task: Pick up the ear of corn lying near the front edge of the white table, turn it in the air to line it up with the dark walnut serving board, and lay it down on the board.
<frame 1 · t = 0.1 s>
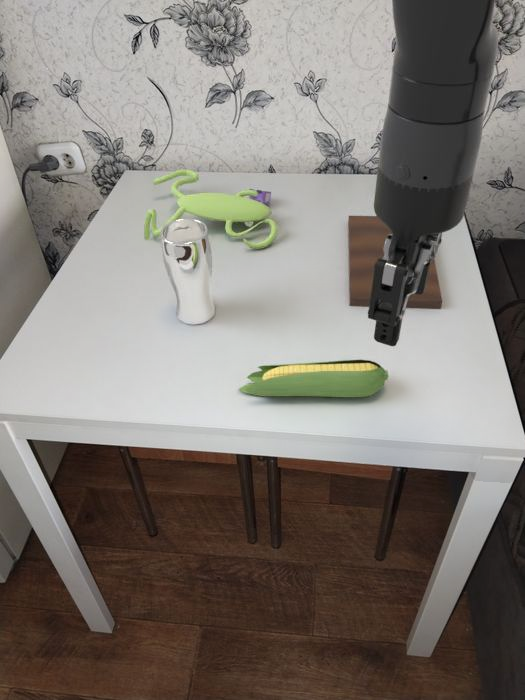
hand: (400, 315, 58), 21 cm above the table, tool pointing down, fingers open, 8 cm apart
figurine: (210, 220, 112), on the table
edible corn: (311, 390, 80), on the table
serving board: (390, 261, 100), on the table
beer glass: (196, 313, 93), on the table
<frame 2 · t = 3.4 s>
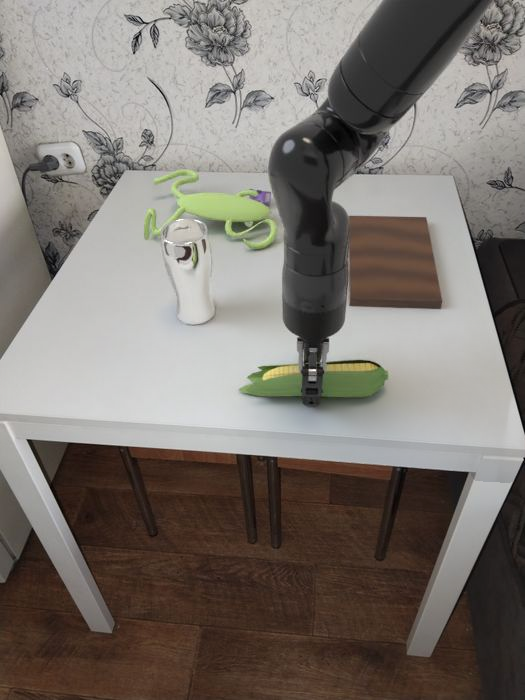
hand: (311, 387, 80), 0 cm above the table, tool pointing down, fingers closed on edible corn, 5 cm apart
edible corn: (311, 391, 80), on the table, touching gripper
everything else where it was.
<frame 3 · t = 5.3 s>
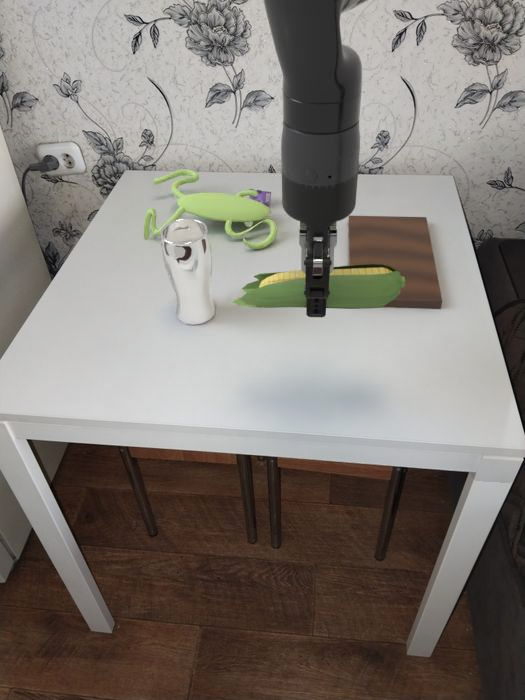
hand: (316, 299, 69), 16 cm above the table, tool pointing down, fingers closed on edible corn, 5 cm apart
edible corn: (315, 303, 70), point 15 cm above the table, touching gripper
everything else where it was.
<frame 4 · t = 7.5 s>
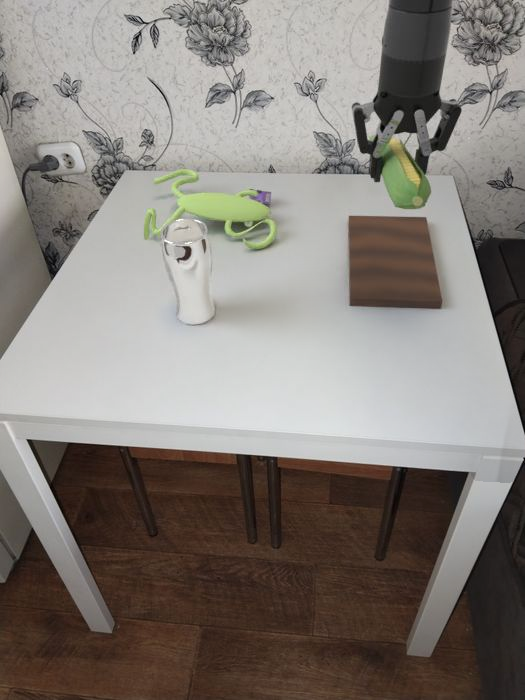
hand: (396, 178, 82), 19 cm above the table, tool pointing down, fingers closed on edible corn, 5 cm apart
edible corn: (395, 182, 82), point 19 cm above the table, touching gripper
everything else where it was.
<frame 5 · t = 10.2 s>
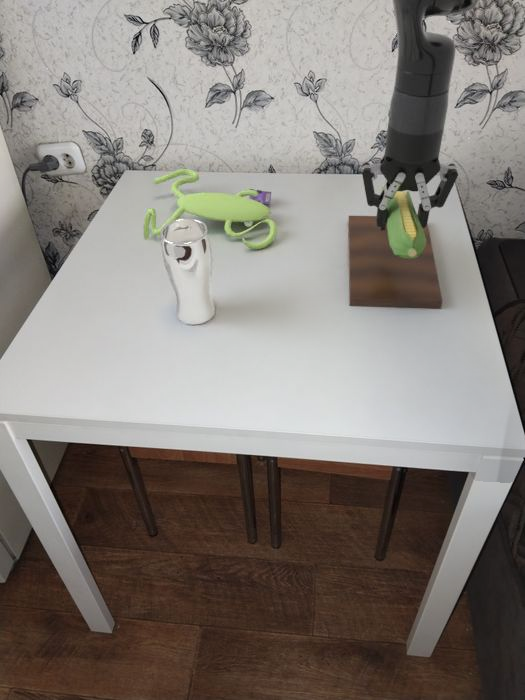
hand: (400, 227, 92), 9 cm above the table, tool pointing down, fingers closed on edible corn, 5 cm apart
edible corn: (399, 231, 93), point 8 cm above the table, touching gripper
everything else where it was.
when the fingers open (2 cm above the table, at t = 12.2 s): edible corn stays where it is, resting on serving board.
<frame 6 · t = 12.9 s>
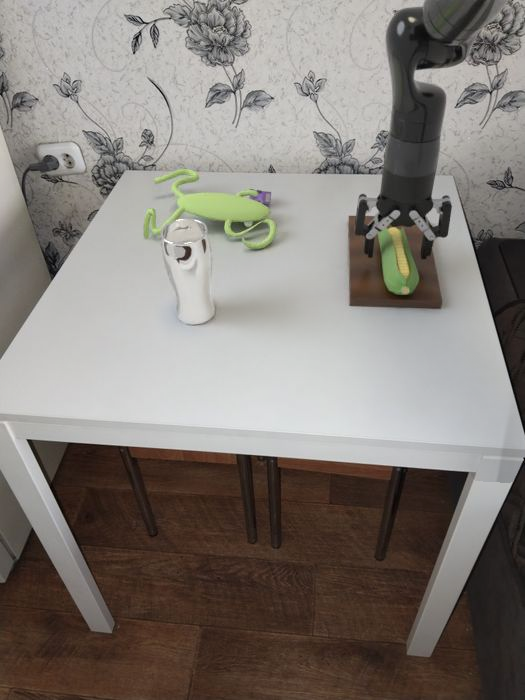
hand: (396, 255, 96), 3 cm above the table, tool pointing down, fingers open, 8 cm apart
edible corn: (394, 266, 97), point 1 cm above the table, touching serving board
everything else where it was.
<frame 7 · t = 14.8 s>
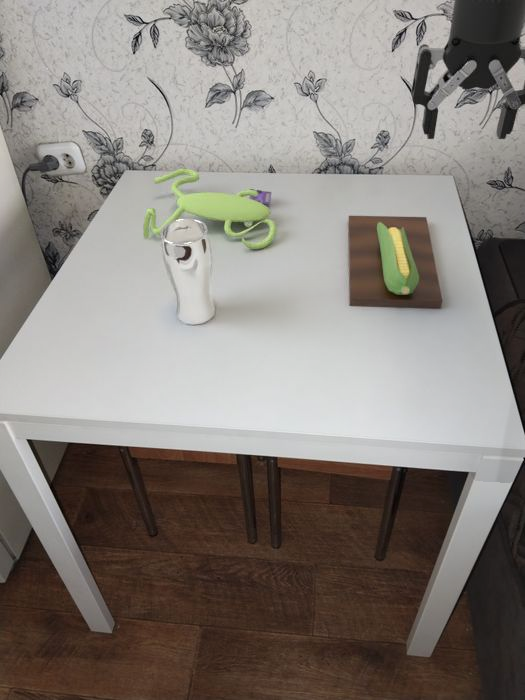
hand: (465, 136, 73), 27 cm above the table, tool pointing down, fingers open, 8 cm apart
nothing on the table moved.
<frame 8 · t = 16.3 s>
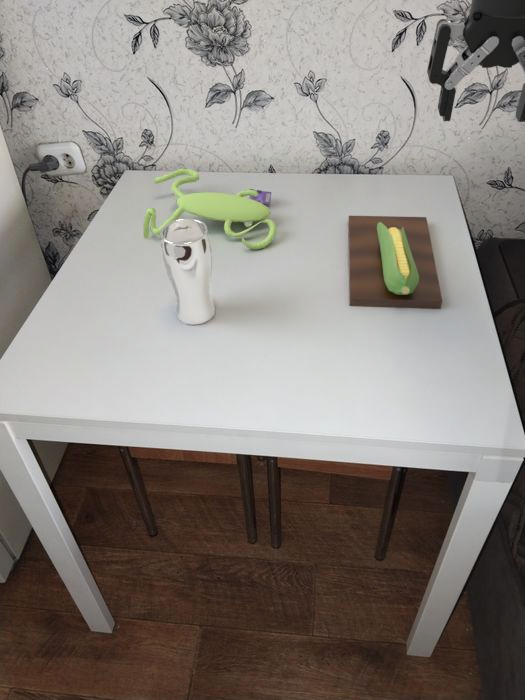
hand: (482, 119, 69), 30 cm above the table, tool pointing down, fingers open, 8 cm apart
nothing on the table moved.
at the end: edible corn inside the target area on the serving board (3.0 cm from its centre), point 1.3 cm above the serving board's base; the gripper is holding nothing; edible corn moved 29.9 cm from its start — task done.
